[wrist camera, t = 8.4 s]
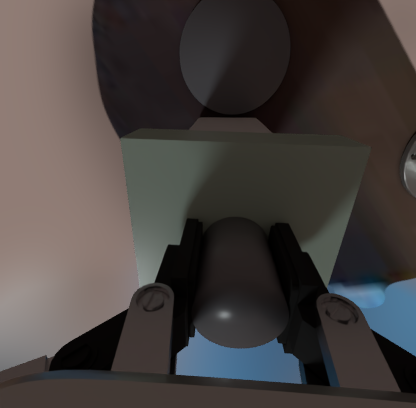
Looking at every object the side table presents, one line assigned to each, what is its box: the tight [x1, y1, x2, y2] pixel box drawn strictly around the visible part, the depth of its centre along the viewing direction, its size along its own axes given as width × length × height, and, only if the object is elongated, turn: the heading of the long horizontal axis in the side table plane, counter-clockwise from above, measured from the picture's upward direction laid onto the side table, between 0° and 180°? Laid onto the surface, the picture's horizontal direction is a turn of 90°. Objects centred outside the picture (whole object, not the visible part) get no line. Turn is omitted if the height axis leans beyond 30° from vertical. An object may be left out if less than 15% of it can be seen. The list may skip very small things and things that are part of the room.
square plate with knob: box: [120, 129, 372, 348], centre depth 11 cm, size 10×10×7 cm
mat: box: [180, 0, 291, 115], centre depth 27 cm, size 12×12×1 cm
